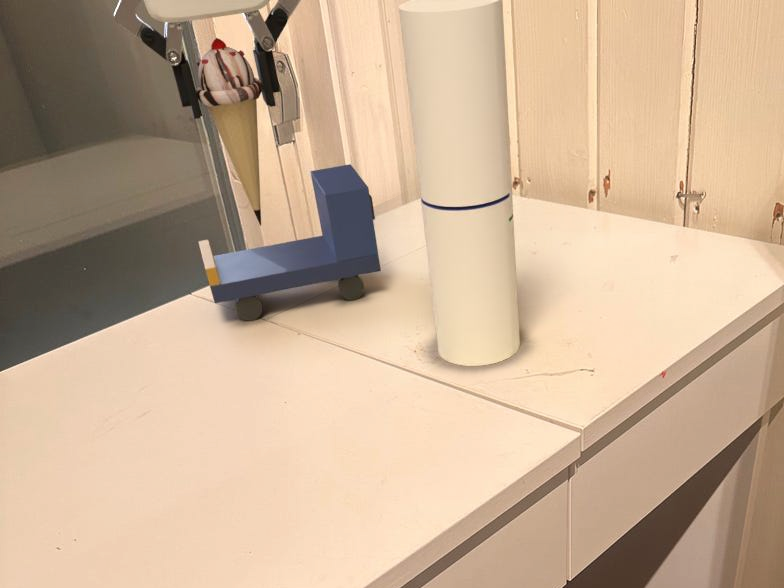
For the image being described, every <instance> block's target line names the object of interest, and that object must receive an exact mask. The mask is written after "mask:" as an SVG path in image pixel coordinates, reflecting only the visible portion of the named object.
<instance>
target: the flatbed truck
mask: <svg viewBox="0 0 784 588" xmlns="http://www.w3.org/2000/svg"><path fill="white" fill-rule="evenodd" d="M310 176H311V177H310V178H311V182H312V187H313V188H312V189H313V192H314V193H313V194H314V199H315V203H316V209H317V214H318V220H319V224H320V230H321V235H319V236H313V237H308V238H302V239H297V240H292V241H291V240H290V241H286V242H281V243H275V244H269V245H265V246H260V247H254V248H248V249H244V250H238V251H233V252H226V253H223V254H217V255H214V254H213V251H212V247H211V244H210V240H209V239H203V240H199V241H198V246H199V251H200V254H201V258H202V263H203V266H204V269H205V274H206V278H207V281H208V284H209V288H210V291H211V295H212V299H213V302H214V304H219V303H225V302H229V301H234V300H235V309H236V312H237V314H238V316H239V317H240V318H241V319H243V320H245V321H255V320H257V319H259V318H260V317H261V315H262V313H263V304H262V302H261V300H260V298H259V297H258V296H260V295H264V294H265V295H266V294H269V293H275V292H280V291H286V290H290V289H291V290H292V289H296V288H302V287H306V286H310V285H316V284H321V283H326V282H331V281H336V280H338V284H337V286H338V291H339V293H340V295H341V296H342V297H343V298H344V299H346V300H349V301H356V300H357V299H359V298H361V296H362V295H363V293H364V291H365V284H364V281H363V279H362V278H361V277H360V276H362V275H367V274H368V275H369V274H371V273H377V272H381V270H382V269H381V262H380V257H379V249H378V242H377V235H376V229H375V224H374V223H375V222H374V221H375V220H376V215H375V209H374V203H373V197H372V195H371V194H370V189H369V186H368V185H367V184H366V182H365V181H364V179H363V178H362V177H361V176H360V174H359V173H358V172H357V171H356V169H355V168H354V167H353V165H352V164H351V163H350V164H345V165H344V164H343V165H337V166H333V167H332V166H331V167H326V168H320V169H315V170H310Z"/></svg>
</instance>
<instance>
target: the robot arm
mask: <svg viewBox="0 0 784 588" xmlns="http://www.w3.org/2000/svg"><path fill="white" fill-rule="evenodd" d="M141 1H142V2H143V4H144V6H145V9H146V10H147V13H148V14H149V16H150V17H151V18H152V19H154V20H156V21H158V22H160V23H164V35H162V34H161V33H160V32H158V31H157V30H156V29H154V28H153V27H152V26H151V25H150V24H148V23H146V22H145V21H144V20H142V19H141V18H139V16H138V15H137V10H138V7H139V5H140V3H141ZM270 1H271V0H119V1H118V3H117V6H116V8H115V11H114V13H113V16H114V17H113V18H114V21H115V23H116V24H117V25H118V26H119V27H121V28H122V29H123V30H125V31H127V32H128V33H129V34H130V35H132V36H133V37H135V38H136V39H138V40H139V41H141V42H142V43H143V44H144V45H146V47H148V48H149V49H151V50H152V51H154V52H155V54H157V55H158V56H160V57H161V58H162V59H164V60H165V61H166V62H167V63H168V64H170V65H171V68H172V71H173V72H172V73H173V76H174V80H175V84H176V87H177V91H178V96H179V99H180V103H181V106H182V108H187V107H188V108H189V107H190V109H191V113H192V116H193V119H194V120H197V119H201V117H203V112H202V108H201V105H200V101H199V99H198V96H197V92H196V90H197V87H196V84H195V80H194V76H193V73H192V69H191V65H190V62H189V60H188V59H186V57H185V53H184V51H183V49H182V48H183V34H184V33H183V32H184V22H190V21H192V22H193V21H197V20H198V21H199V20H205V19H212V18H219V17H226V16H233V15H241V14H242V15H243V18H244V20H245V21H246V23H247V26H248V27H249V28H250V29H249V30H250V31H251V33H252V34H253V36H254V40H253V43H254V49H253V50H252V53H253V58H254V62H255V68H256V72H257V77H258V79H259V80H260V81H261V83H262V92H261V96H262V99H263V101H264V103H265V106H269V108H270V107H271V108H273V107H276V105H277V104H276V99H275V93H280V92H281V87H280V83H279V78H278V77H279V76H278V72H277V68H276V62H275V57H274V52H273V50H274V49H275V46H276V43H277V41H278V40H279V38H280V36H281V34H282V33H283V30H284V29H285V28H286V26H287V24H288V22H289V19H290V18H291V17H292V15H293V13H294V12H295V10H296V9H297V7H298V6H299V4H300V2H301V1H302V0H277V2H276V3H275V5H274V6H273V8H271V10H270V12H269V14H268V15H267V17H266V19H265V20H264V18H263V16H262V13H261V12H260V10H261V9H263V8H264V7H266V6H267V5H268V4H269V3H270Z"/></svg>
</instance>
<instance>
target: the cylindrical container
mask: <svg viewBox="0 0 784 588" xmlns="http://www.w3.org/2000/svg"><path fill="white" fill-rule="evenodd" d="M398 13H399V20H400V22H399V23H400V28H401V29H400V30H401V38H402V39H401V40H402V48H403V57H404V67H405V74H406V82H407V92H408V100H409V108H410V118H411V126H412V134H413V142H414V153H415V161H416V168H417V177H418V178H417V179H418V186H419V193H420V202H421V213H422V220H423V228H424V229H423V230H424V238H425V247H426V256H427V264H428V265H427V266H428V273H429V282H430V290H431V298H432V299H431V300H432V306H433V307H432V308H433V316H434V326H435V335H436V342H437V351H438V354H439V356H440V358H442V359H443V360H444V361H445V362H447V363H450V364H454V365H457V366H464V367H479V366H488V365H493V364H497V363H501V362H502V361H505V360H508V359H509V358H511V357H512V356H514V355H515V354H516V353H517V352H518V351H519V349H520V346H521V341H520V340H521V339H520V338H521V337H520V320H519V319H520V317H519V303H518V301H519V299H518V281H517V280H518V279H517V260H516V243H515V241H516V240H515V223H514V220H515V219H514V203H513V183H512V181H513V180H512V165H511V164H512V163H511V141H510V125H509V123H510V122H509V121H510V120H509V103H508V82H507V65H506V64H507V63H506V44H505V42H506V41H505V24H504V4H503V0H408V1H405V2H403V3H401V4H399V6H398Z"/></svg>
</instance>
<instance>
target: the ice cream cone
mask: <svg viewBox="0 0 784 588" xmlns="http://www.w3.org/2000/svg"><path fill="white" fill-rule="evenodd" d="M196 66H197V67H198V69H197V70H198V71H197V79H198V84H199V85H198V87H196V92H197V96H198V100H199V103H201V104H202V105H204V107H207V109H208V112H209V114H210V116H211V118H212V120H213V123H214V125H215V127H216V129H217V132H218V134H219V136H220V138H221V139H220V140H221V141H222V143H223V145H224V148H225V150H226V152H227V155H228V157H229V158H230V161H231V163H232V166H233V169H234V170H235V172H236V174H237V177H238V179H239V181H240V183H241V186H242V188H243V191H244V192H245V195H246V197H247V199H248V201H249V204H250V206H251V208H252V211H253V213H254V215H255V217H256V220H257V222H258V224H259V226H260V227H261V226H262V211H261V208H262V207H261V206H262V205H261V183H260V157H259V155H260V154H259V132H258V130H259V129H258V104H257V102H258V101H257V100H258V99H259V98H260V96H261V95H262V83H261V81H260V80H259V78H257V77H255V74H254V71H253V68H252V66H251V64H250V63H249V61H248V60H247V58H246V57H245V53H244V51H242V50H239V51H238V50H237V49H234V48H232V47H230V46H227V44H226V42H224V40H222V39H220V38H218V37H216V38H215V39H214V40H213V41H212V42H211V45H210V49H209V50H208V51H207V52H205V54H204V55H203V56H202V58H201V60H200V61H198V62H196Z"/></svg>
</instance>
